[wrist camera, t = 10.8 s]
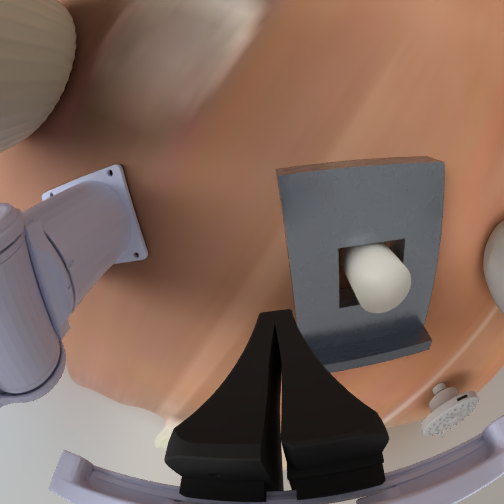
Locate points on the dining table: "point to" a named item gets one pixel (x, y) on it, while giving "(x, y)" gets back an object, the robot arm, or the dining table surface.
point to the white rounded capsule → (375, 276)
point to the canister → (32, 64)
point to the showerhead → (447, 409)
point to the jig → (360, 233)
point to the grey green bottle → (495, 265)
